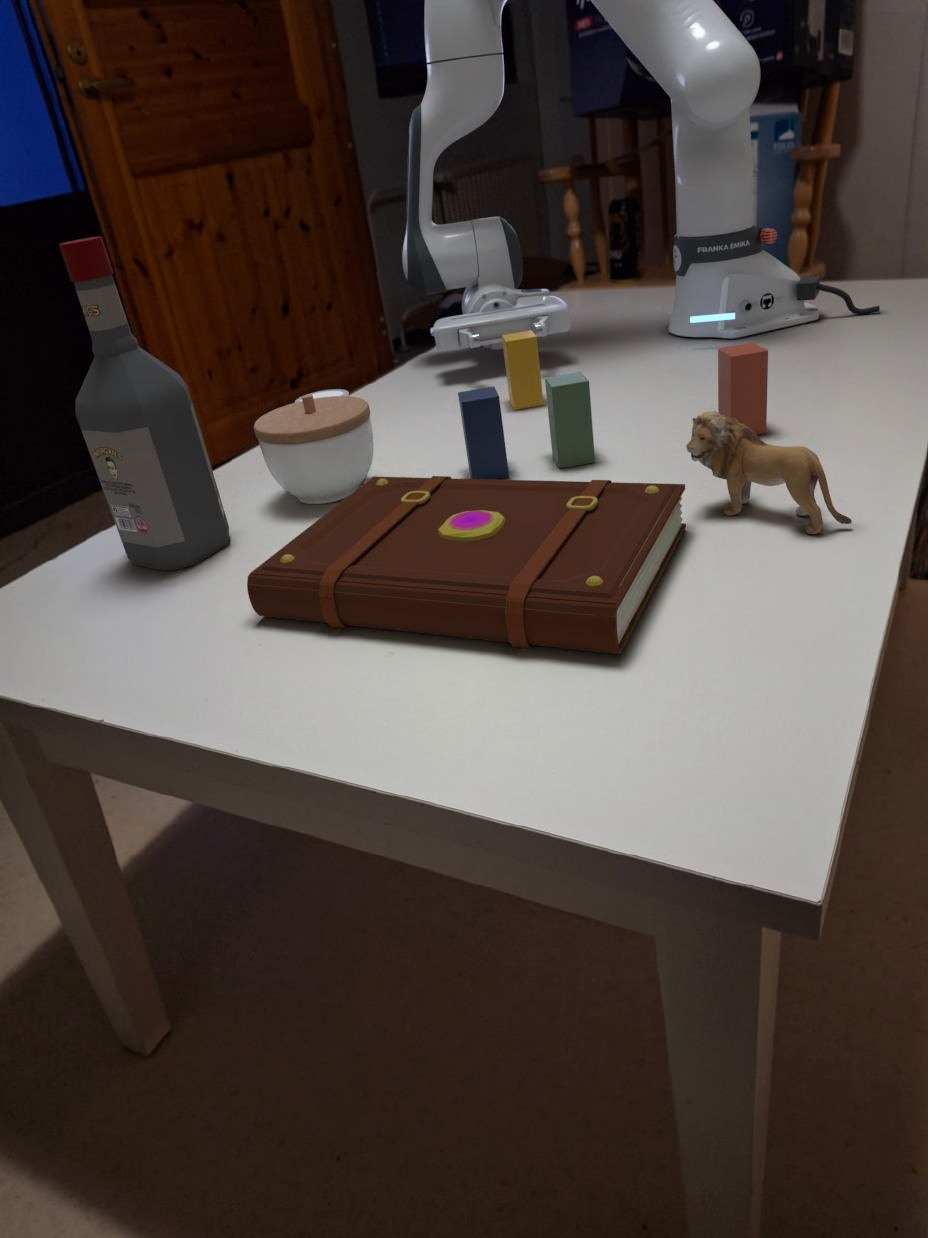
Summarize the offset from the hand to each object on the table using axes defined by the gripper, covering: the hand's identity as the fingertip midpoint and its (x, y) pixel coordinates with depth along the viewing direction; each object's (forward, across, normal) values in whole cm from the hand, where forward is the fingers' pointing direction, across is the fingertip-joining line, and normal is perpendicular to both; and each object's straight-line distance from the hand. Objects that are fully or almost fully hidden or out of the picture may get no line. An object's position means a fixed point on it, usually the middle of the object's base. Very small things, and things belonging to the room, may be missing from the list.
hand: (507, 336), depth 127 cm
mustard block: (+11, 0, +7) cm, 13 cm away
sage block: (+35, +2, +7) cm, 36 cm away
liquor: (+42, -41, +7) cm, 59 cm away
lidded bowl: (+32, -26, +7) cm, 42 cm away
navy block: (+35, -8, +7) cm, 37 cm away
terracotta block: (+35, +21, +6) cm, 41 cm away
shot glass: (+17, -26, +7) cm, 32 cm away
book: (+59, -12, +7) cm, 61 cm away
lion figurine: (+57, +14, +7) cm, 59 cm away
